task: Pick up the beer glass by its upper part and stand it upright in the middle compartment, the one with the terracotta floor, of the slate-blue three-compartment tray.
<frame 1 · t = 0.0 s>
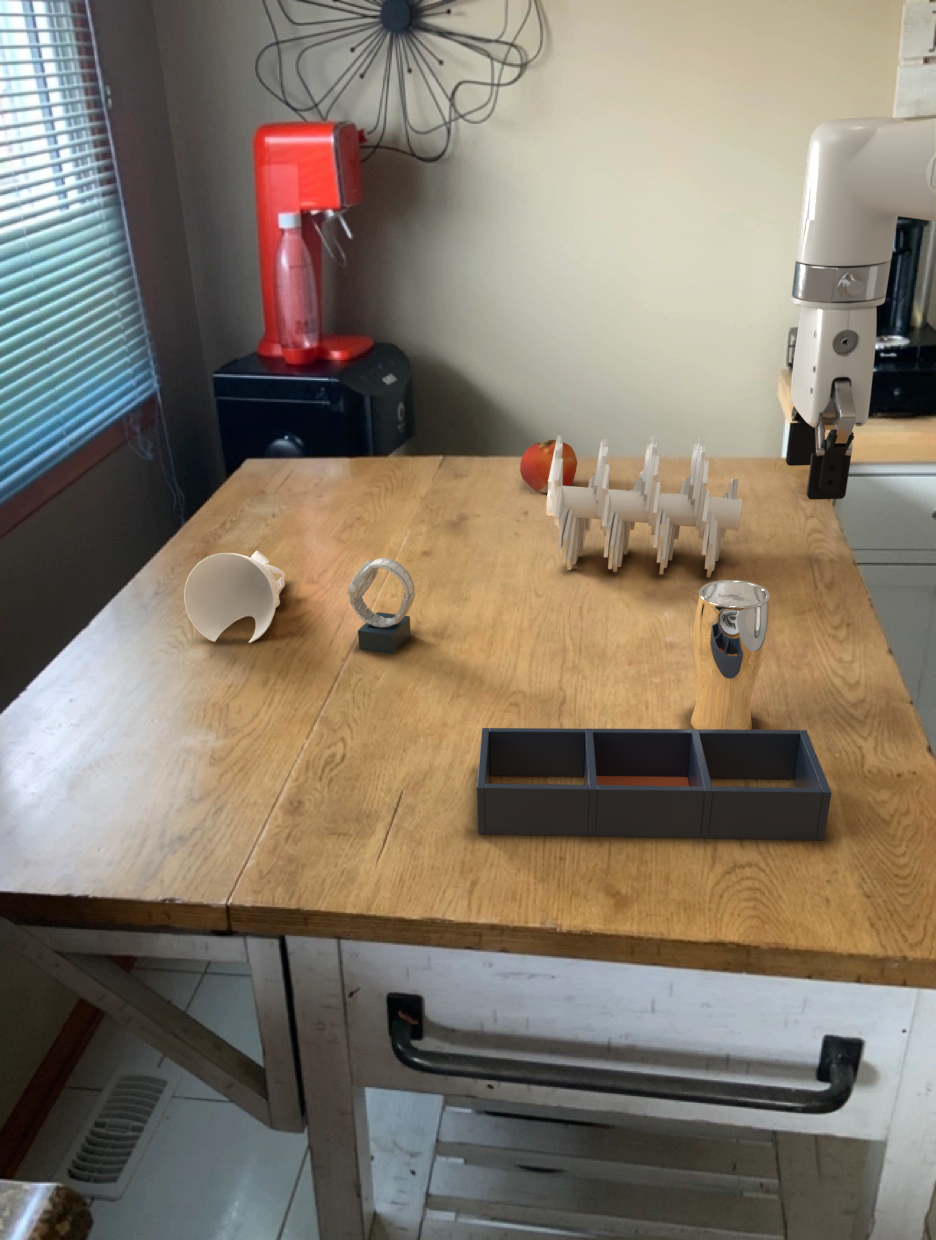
hand: (813, 480, 104), 25 cm above the table, tool pointing down, fingers open, 9 cm apart
tomato: (548, 490, 184), on the table
beer glass: (720, 729, 116), on the table
compartment tray: (642, 809, 104), on the table
watch: (384, 648, 136), on the table
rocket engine: (263, 617, 146), on the table
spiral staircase: (639, 569, 153), on the table
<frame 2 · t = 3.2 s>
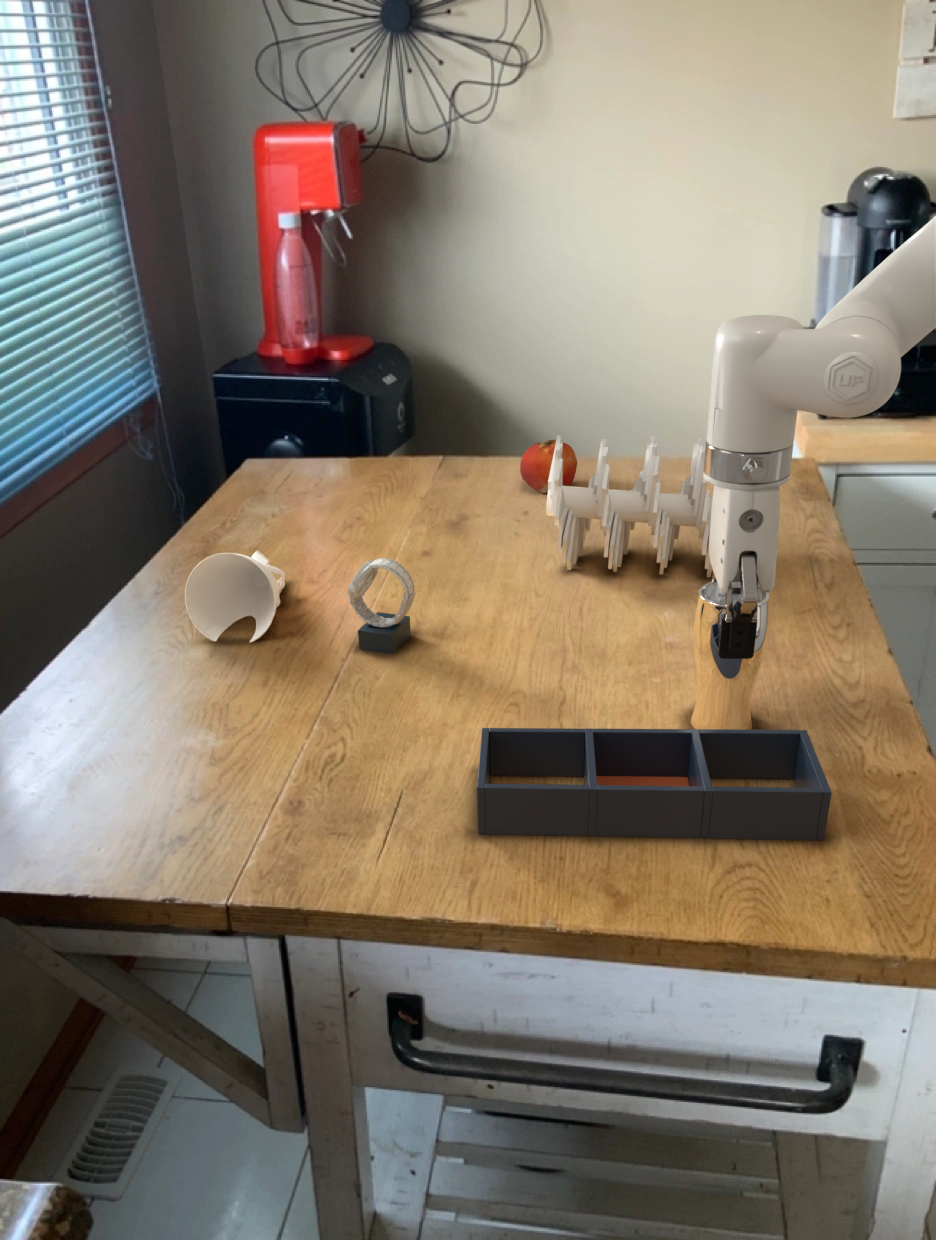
hand: (729, 638, 110), 10 cm above the table, tool pointing down, fingers closed on beer glass, 7 cm apart
beer glass: (720, 729, 116), on the table, touching gripper
everything else where it was.
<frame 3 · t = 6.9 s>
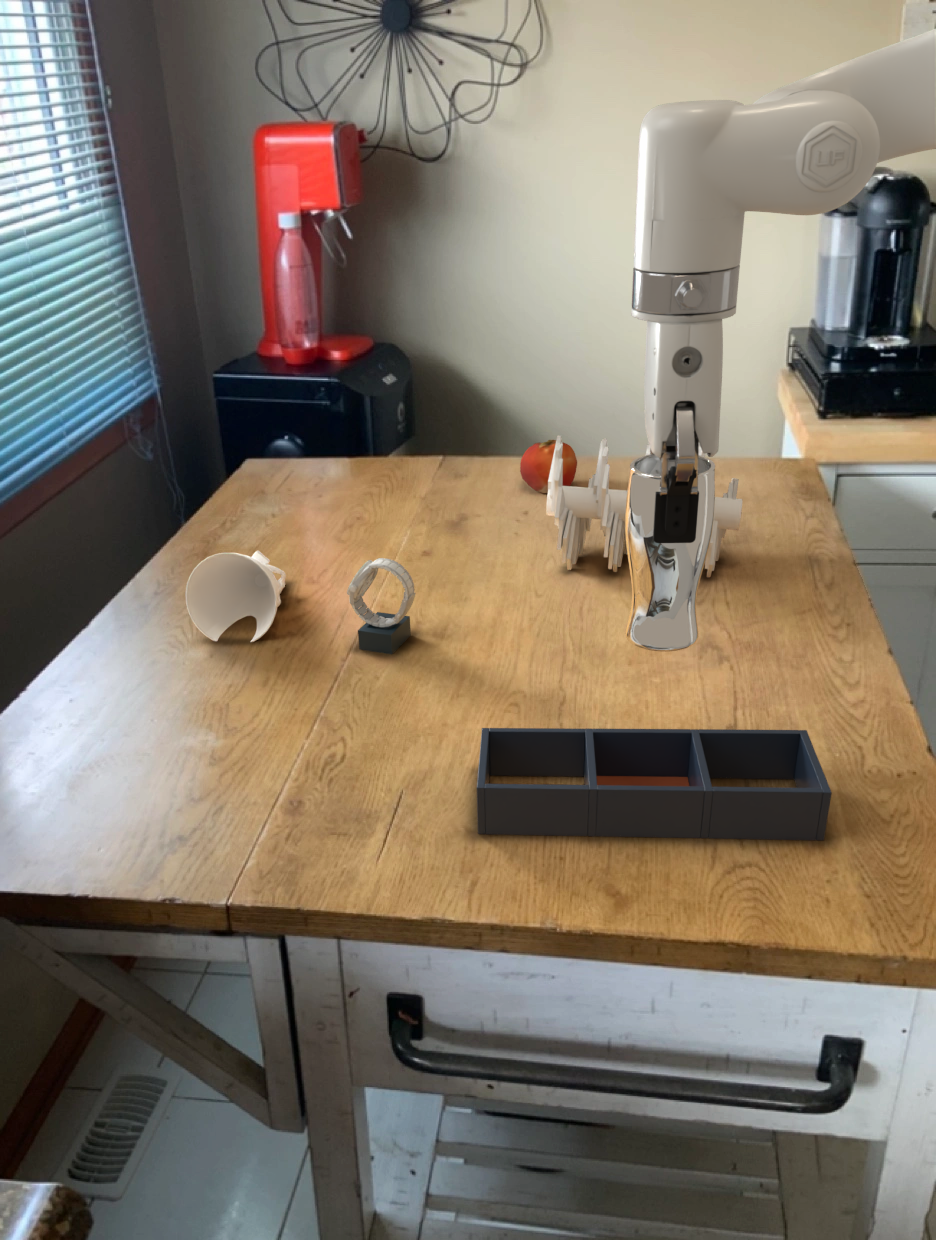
hand: (669, 522, 91), 27 cm above the table, tool pointing down, fingers closed on beer glass, 7 cm apart
beer glass: (661, 638, 96), point 17 cm above the table, touching gripper
everything else where it was.
when the fingers open (11 cm above the table, at t = 11.0 s): beer glass stays where it is, resting on compartment tray.
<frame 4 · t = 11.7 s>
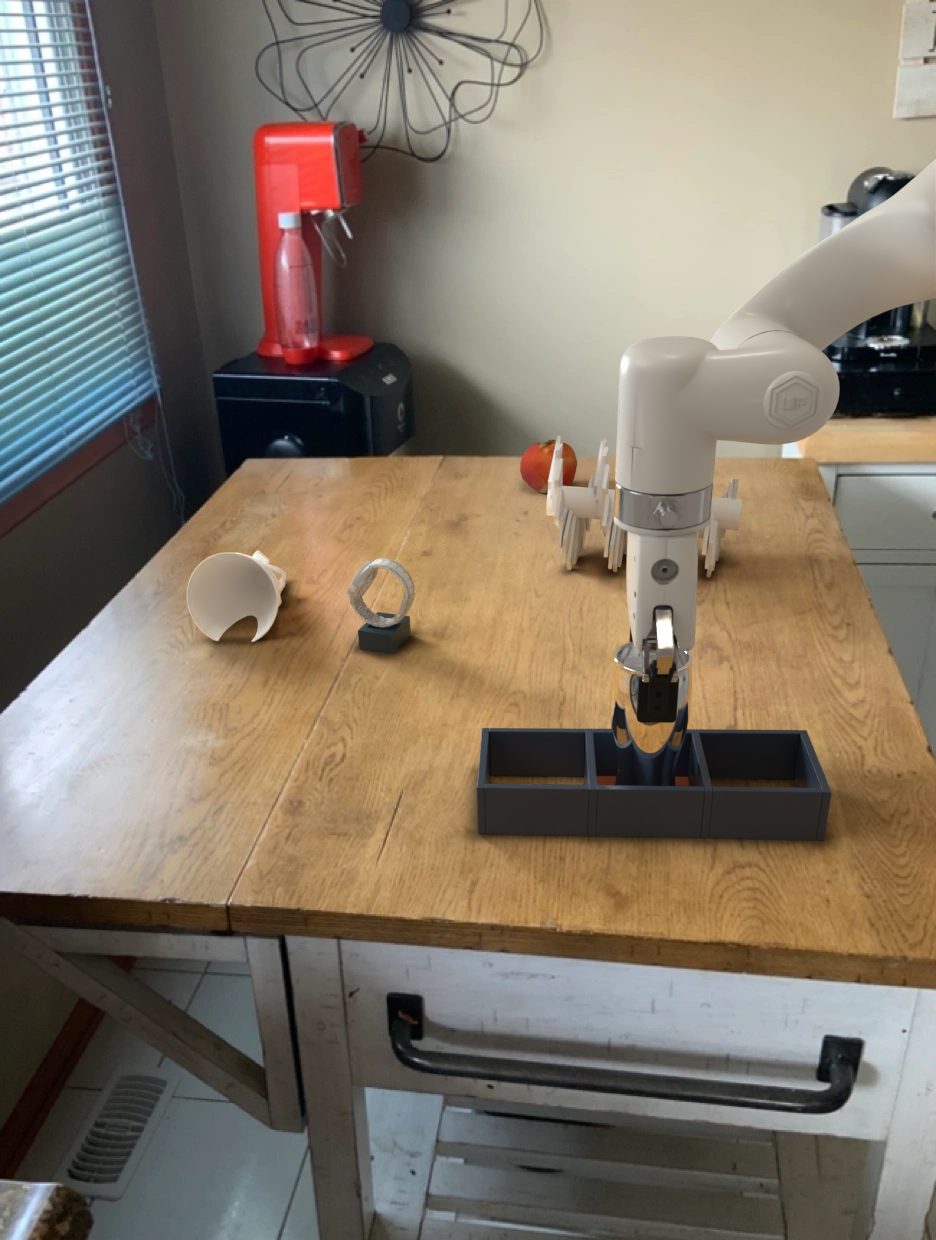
hand: (651, 692, 98), 12 cm above the table, tool pointing down, fingers open, 9 cm apart
beer glass: (643, 804, 103), point 1 cm above the table, touching compartment tray
everything else where it was.
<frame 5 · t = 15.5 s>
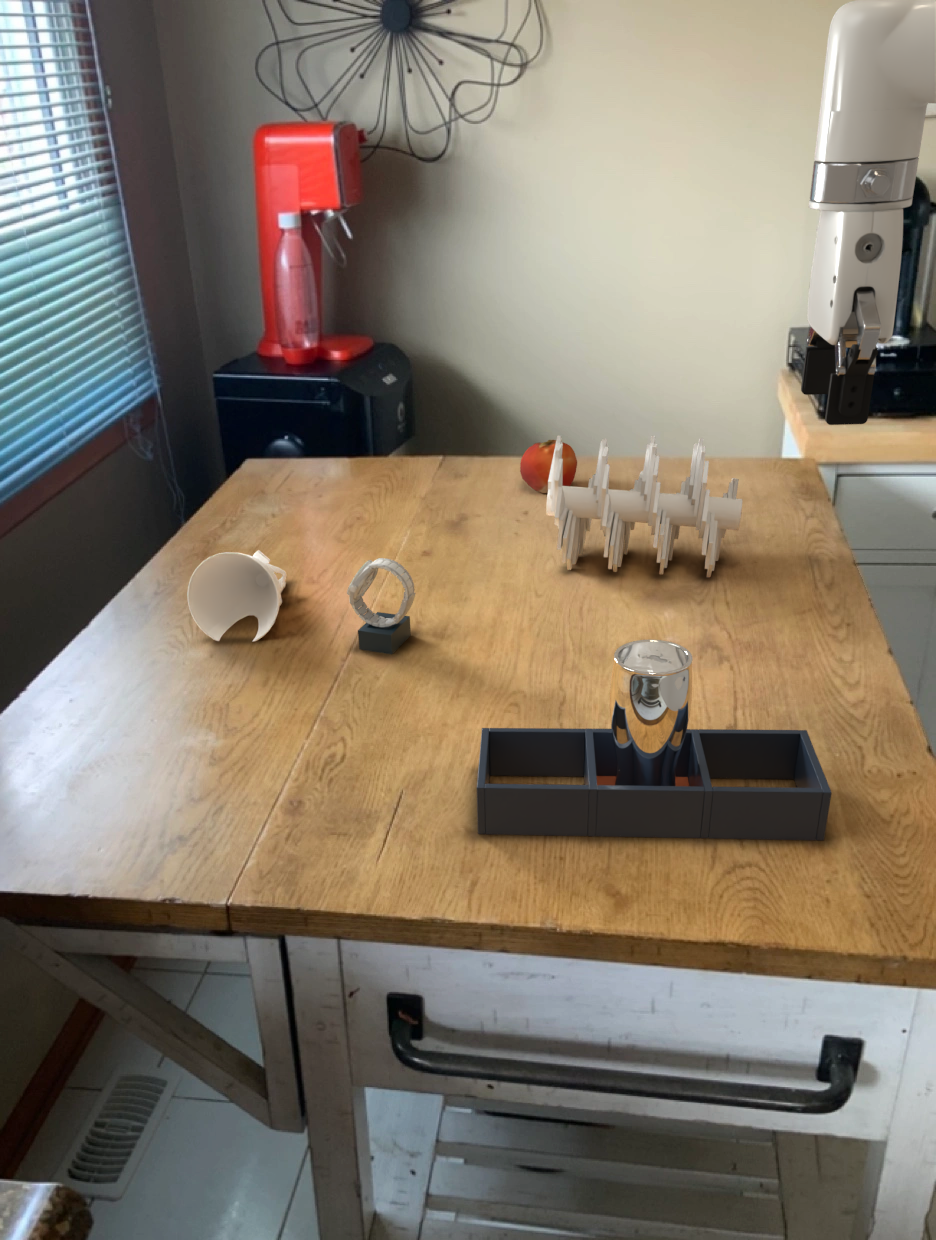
hand: (832, 407, 96), 33 cm above the table, tool pointing down, fingers open, 9 cm apart
nothing on the table moved.
at the end: beer glass 0.1 cm off-centre in the compartment tray, point 0.6 cm above the compartment tray's base; beer glass tilted 0°; the gripper is holding nothing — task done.
